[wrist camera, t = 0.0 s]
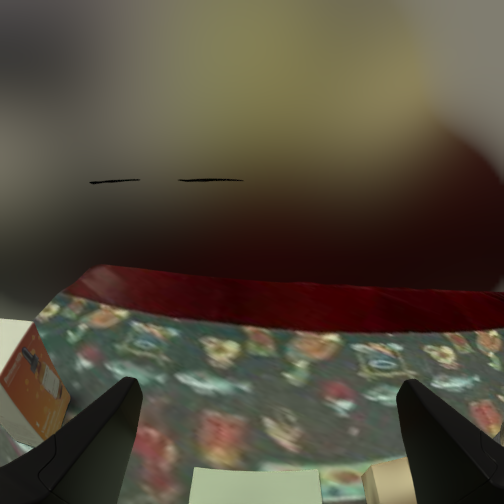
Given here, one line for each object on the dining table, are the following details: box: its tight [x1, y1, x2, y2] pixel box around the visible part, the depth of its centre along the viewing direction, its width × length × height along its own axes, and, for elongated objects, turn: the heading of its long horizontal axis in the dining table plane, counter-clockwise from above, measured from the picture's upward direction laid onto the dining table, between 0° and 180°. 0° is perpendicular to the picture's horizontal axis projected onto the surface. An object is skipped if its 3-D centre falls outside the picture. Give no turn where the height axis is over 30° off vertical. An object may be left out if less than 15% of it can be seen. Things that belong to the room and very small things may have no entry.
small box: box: [0, 318, 70, 447], centre depth 17 cm, size 8×6×10 cm
